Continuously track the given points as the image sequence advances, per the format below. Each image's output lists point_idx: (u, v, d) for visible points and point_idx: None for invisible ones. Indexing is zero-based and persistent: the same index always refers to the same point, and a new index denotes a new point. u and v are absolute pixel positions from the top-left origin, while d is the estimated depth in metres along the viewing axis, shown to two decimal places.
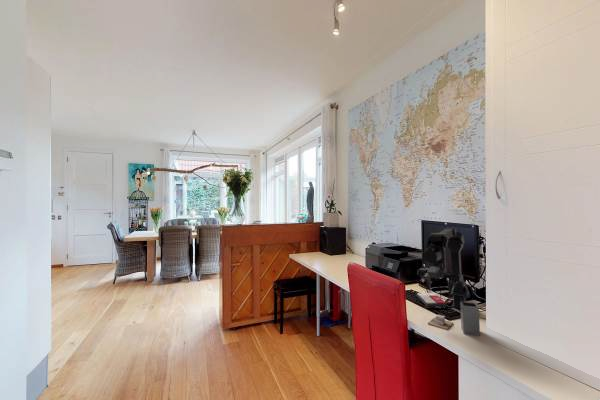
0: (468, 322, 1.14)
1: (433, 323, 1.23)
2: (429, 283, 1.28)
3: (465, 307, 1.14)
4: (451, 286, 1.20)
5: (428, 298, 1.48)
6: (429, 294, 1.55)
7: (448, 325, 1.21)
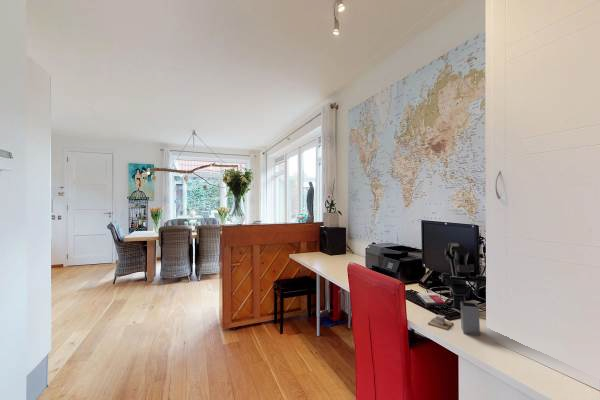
0: (468, 322, 1.14)
1: (433, 323, 1.23)
2: (453, 288, 1.28)
3: (465, 307, 1.14)
4: (478, 286, 1.23)
5: (428, 298, 1.49)
6: (429, 294, 1.55)
7: (448, 325, 1.21)
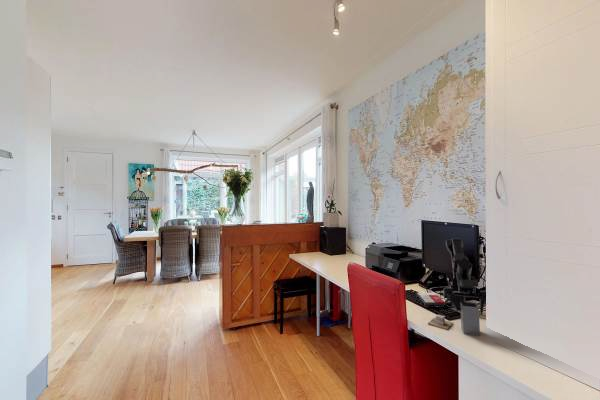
0: (468, 322, 1.14)
1: (433, 323, 1.23)
2: None
3: (465, 307, 1.14)
4: (482, 303, 1.16)
5: (427, 297, 1.50)
6: (429, 293, 1.55)
7: (448, 325, 1.21)
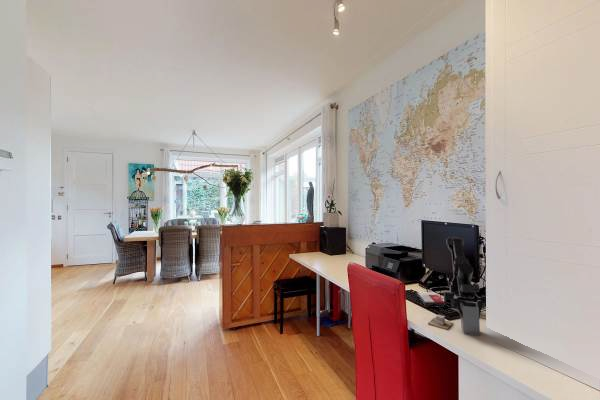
0: (468, 322, 1.14)
1: (433, 323, 1.23)
2: (460, 309, 1.18)
3: (465, 307, 1.14)
4: (480, 308, 1.15)
5: (427, 297, 1.50)
6: (429, 293, 1.56)
7: (448, 325, 1.21)
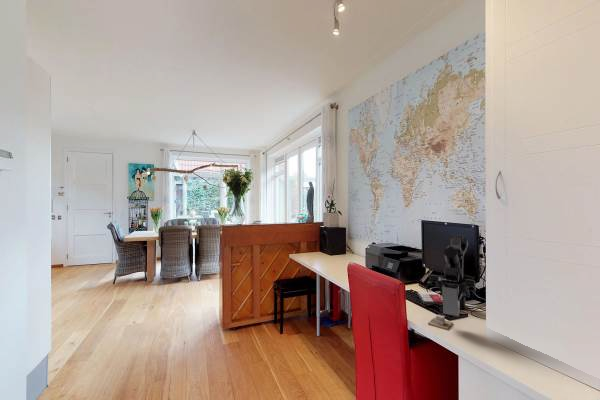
0: (447, 303, 1.19)
1: (433, 323, 1.23)
2: None
3: (444, 288, 1.19)
4: (461, 290, 1.19)
5: (427, 297, 1.51)
6: (430, 293, 1.56)
7: (448, 325, 1.21)
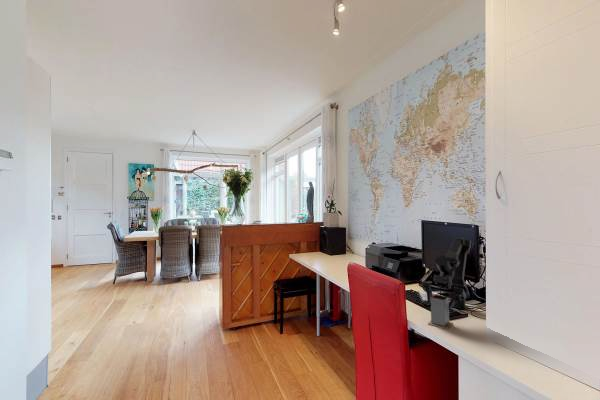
0: (435, 313, 1.23)
1: (433, 323, 1.23)
2: None
3: (432, 298, 1.24)
4: (452, 298, 1.21)
5: None
6: None
7: (448, 325, 1.21)
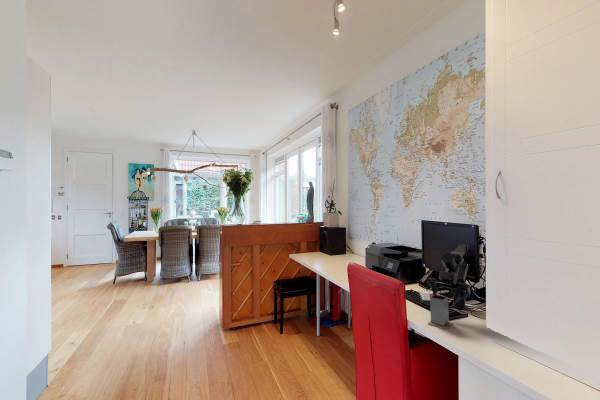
0: (434, 313, 1.23)
1: None
2: (435, 292, 1.33)
3: (432, 299, 1.24)
4: (457, 294, 1.25)
5: (426, 296, 1.53)
6: (431, 292, 1.58)
7: (448, 325, 1.21)
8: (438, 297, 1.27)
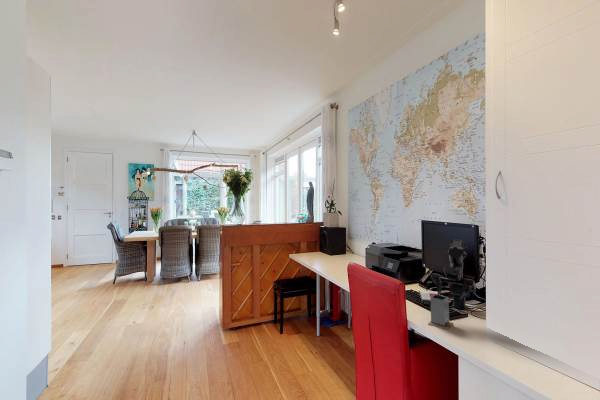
0: (435, 313, 1.23)
1: (433, 323, 1.23)
2: (440, 288, 1.30)
3: (432, 298, 1.24)
4: (463, 289, 1.22)
5: (426, 295, 1.53)
6: (431, 292, 1.58)
7: (448, 325, 1.21)
8: (439, 297, 1.27)
